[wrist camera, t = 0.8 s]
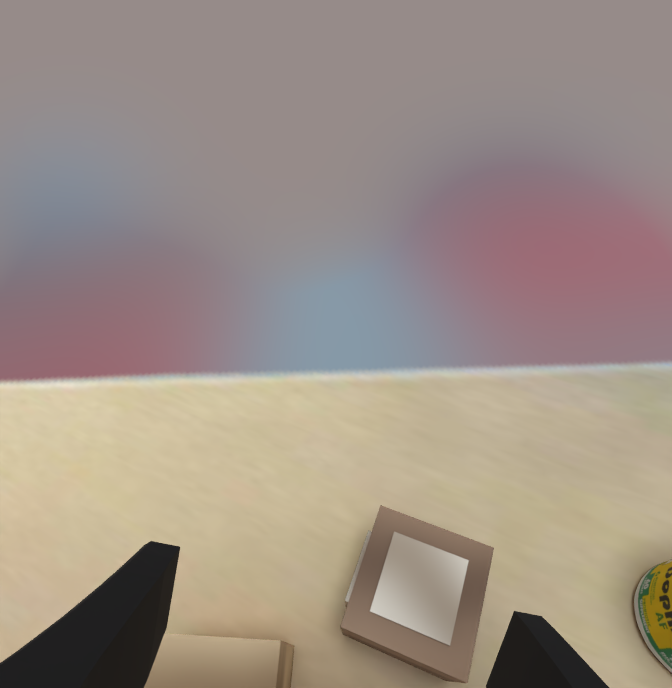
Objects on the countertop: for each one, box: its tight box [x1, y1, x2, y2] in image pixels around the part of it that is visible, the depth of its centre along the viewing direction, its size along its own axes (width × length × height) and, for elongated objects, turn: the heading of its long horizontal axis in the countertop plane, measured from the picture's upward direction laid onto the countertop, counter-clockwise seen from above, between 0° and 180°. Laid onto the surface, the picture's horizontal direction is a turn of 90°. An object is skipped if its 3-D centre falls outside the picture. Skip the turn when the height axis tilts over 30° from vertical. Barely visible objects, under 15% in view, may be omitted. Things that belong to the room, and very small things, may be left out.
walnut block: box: [340, 505, 494, 683], centre depth 22 cm, size 5×5×5 cm
